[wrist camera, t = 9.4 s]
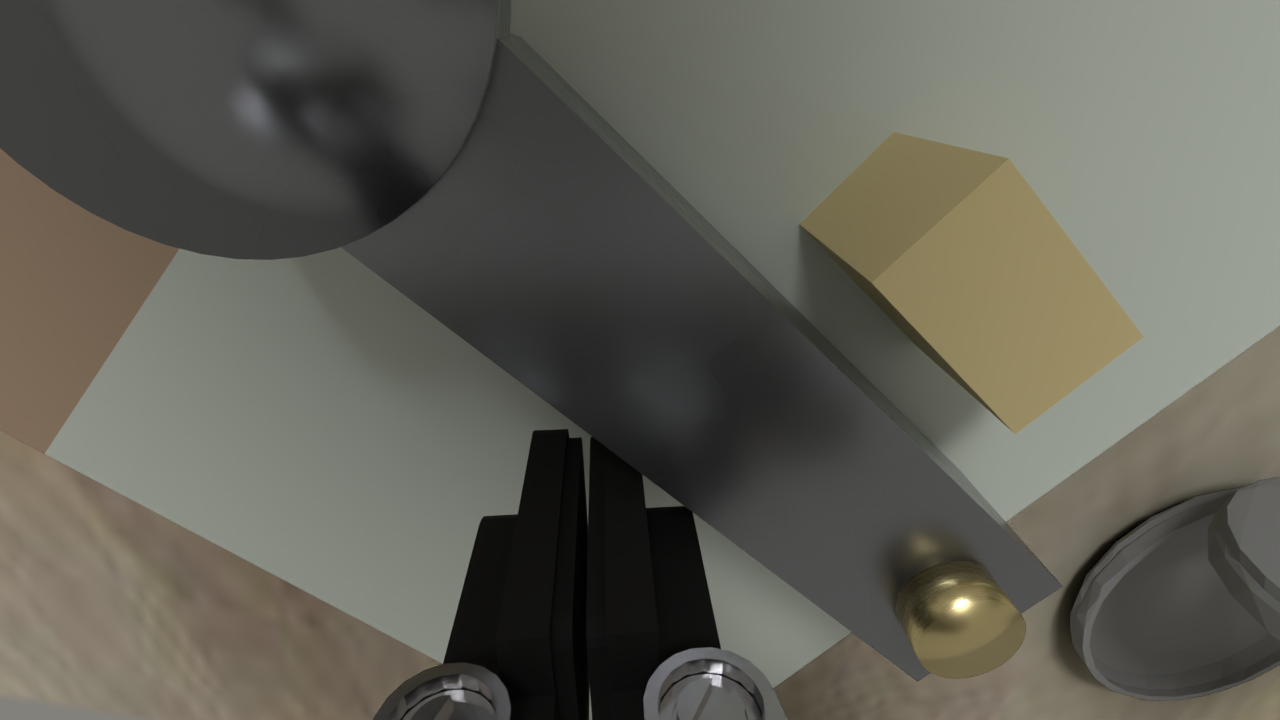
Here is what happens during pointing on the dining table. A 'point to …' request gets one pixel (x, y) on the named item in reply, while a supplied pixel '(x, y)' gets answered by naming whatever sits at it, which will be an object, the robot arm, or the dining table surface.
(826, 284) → the door board
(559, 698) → the robot arm
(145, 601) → the dining table surface
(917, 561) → the latch bar
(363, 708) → the dining table surface
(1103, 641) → the pocket watch
